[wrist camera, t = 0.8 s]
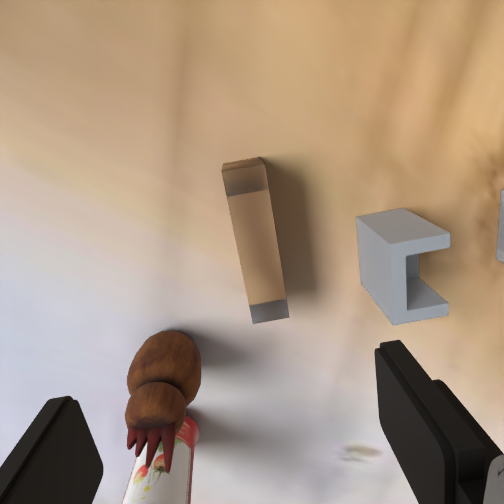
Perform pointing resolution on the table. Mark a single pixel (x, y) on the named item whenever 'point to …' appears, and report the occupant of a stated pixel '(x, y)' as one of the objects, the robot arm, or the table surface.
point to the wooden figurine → (161, 392)
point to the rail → (256, 238)
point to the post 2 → (501, 231)
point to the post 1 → (399, 264)
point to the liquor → (157, 480)
